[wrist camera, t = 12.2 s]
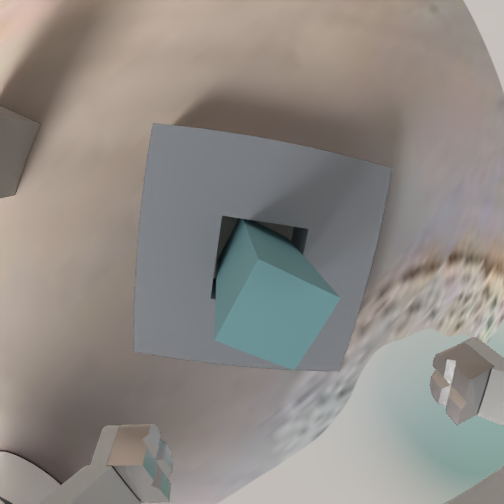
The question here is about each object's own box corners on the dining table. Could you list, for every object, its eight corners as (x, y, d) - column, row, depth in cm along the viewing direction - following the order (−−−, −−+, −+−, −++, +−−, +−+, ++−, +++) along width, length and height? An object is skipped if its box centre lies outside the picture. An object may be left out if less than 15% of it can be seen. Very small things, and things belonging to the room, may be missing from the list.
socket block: (322, 341, 29) (339, 371, 24) (146, 321, 27) (133, 351, 22) (363, 166, 25) (392, 168, 20) (166, 131, 23) (152, 123, 18)
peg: (262, 281, 26) (294, 370, 14) (217, 260, 25) (214, 340, 13) (287, 237, 25) (340, 298, 13) (240, 214, 24) (258, 258, 13)
